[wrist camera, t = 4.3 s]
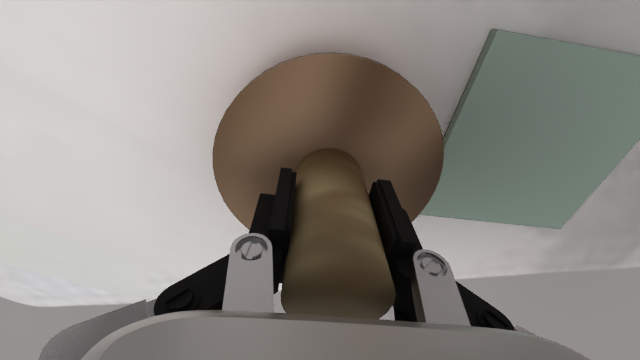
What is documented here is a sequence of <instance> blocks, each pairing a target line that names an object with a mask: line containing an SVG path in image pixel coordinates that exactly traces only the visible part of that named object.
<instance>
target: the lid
mask: <svg viewBox="0 0 640 360" xmlns="http://www.w3.org/2000/svg"><path fill="white" fill-rule="evenodd" d="M443 159H444V146H443V138H442V133H441V129H440V125H439V123H438V121H437V118H436V116H435V113H434V112H433V110H432V108H431V107H430V105H429V104H428V102H427V100H426V99H425V98H424V97H423V96H422V95H421V93H420V92H419V91H418V90H417V89H416V88H415V87H414V86H413V85H412V84H410V83H409V82H408V81H407V80H406V79H404V78H403V77H402V76H401V75H400V74H398V73H397V72H395V71H393V70H392V69H390V68H388V67H387V66H385V65H383V64H381V63H378V62H376V61H373V60H371V59H368V58H364V57H360V56H356V55H352V54H342V53H316V54H310V55H305V56H300V57H296V58H293V59H290V60H287V61H285V62H282V63H279V64H278V65H276V66H274V67H272V68H270V69H268V70H266V71H264V72H263V73H262V74H260V75H259V76H258V77H256V78H255V79H253V80H252V81H251V82H250V83H249V84H248V85H247V86H246V87H245V88H244V89H243V90H242V91H241V92H240V93H239V94H238V95H237V97H236V98H235V99H234V101H233V102H232V103H231V105H230V106H229V107H228V109H227V110H226V112H225V114H224V116H223V118H222V120H221V122H220V124H219V127H218V130H217V133H216V136H215V140H214V147H213V169H214V176H215V180H216V183H217V186H218V189H219V192H220V194H221V196H222V198H223V200H224V202H225V203H226V205H227V206H228V208H229V209H230V211H231V212H232V213H233V214H234V215H235V217H236V218H237V219H238V220H239V221H240V222H241V223H242V224H243V225H244V226H245V227H247V228H248V229H249V230H250V227H251V224H252V220H253V217H254V213H255V210H256V206H257V203H258V199H259V196H260V193H264V194H273V195H275V194H276V189H277V184H278V179H279V174H280V169H281V167H283V168H291V169H293V170H292V172H297V176H296V186H295V195H294V205H293V215H292V225H291V234H290V242H289V249H288V253H287V255H286V258H285V265H284V274H283V282H282V291H281V304H282V306H283V309H284V310H285V312H286V313H288V314H304V315H320V316H335V317H350V318H365V319H379V318H380V317H382V316H383V315H385V314H386V313H387V312H388V311H389V310H390V308H391V307H392V305H393V303H394V301H395V297H396V291H395V288H394V284H393V280H392V277H391V273H390V270H389V266H388V263H387V259H386V255H385V252H384V248H383V245H382V241H381V238H380V234H379V230H378V227H377V223H376V220H375V216H374V213H373V209H372V205H371V202H370V198H369V192H370V189H371V186H372V183H373V182H376V181H377V180H378V179H382V180H390V181H391V183H392V185H393V188H394V190H395V193H396V195H397V197H398V200H399V202H400V204H401V207H402V209H405V210H406V212H407V214H408V216H409V219H410V221H411V222H412V221H413V220H414V219H415V218H416V217H417V216H418V215H419V214H420V213H421V212H422V211H423V209H424V208H425V206H426V205H427V204H428V202H429V201H430V199H431V197H432V195H433V194H434V192H435V190H436V187H437V185H438V182H439V180H440V176H441V172H442V168H443Z"/></svg>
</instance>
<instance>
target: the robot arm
mask: <svg viewBox="0 0 640 360" xmlns="http://www.w3.org/2000/svg"><path fill="white" fill-rule="evenodd" d="M292 170H293V169H291V168H283V167H281V169H280V174H279V179H278V184H277V189H276V194H275V195H273V194H264V193H260V196H259V199H258V203H257V206H256V210H255V213H254V217H253V220H252V224H251V227H250V231H249V233H248V234H244V235H241V236H240V237H238V238H237V239H235V240H234V242H233V243H232V245H231V248H230V254H229V255H227V256H225V257H223V258H221V259H220V260H218V261H216V262H214V263H212V264H210V265H208V266H207V267H205V268H203V269H201V270H199V271H197V272H195V273H194V274H192V275H190V276H188V277H186V278H184V279H183V280H181V281H179V282H177V283H175V284H173V285H171V286H170V287H168V288H167V289H165V290H164V291H163V292H162V293H161V294H160V295H159V296H158V298H157V299H155V300H152V301H149V302H146V299H145V300H143V301H140V302H137V303H134V304H131V305H128V306H126V307H123V308H120V309H118V310H115V311H112V312H109V313H106V314H103V315H100V316H98V317H95V318H92V319H89V320H86V321H83V322H81V323H78V324H75V325H72V326H70V327H68V328H66V329H64V330H62V331H61V332H59V333H58V334H56V335H55V336H54V337H53V338H51V339H50V340H49V342H48V343H47V344H46V345H45V346H44V348H43V350H42V352H41V354H40V357H39V360H590V359H589V358H587V357H585V356H584V355H582V354H580V353H578V352H576V351H575V350H573V349H571V348H568V347H566V346H564V345H561V344H559V343H557V342H554V341H551V340H548V339H545V338H542V337H539V336H537V335H535V334H533V333H531V332H529V331H527V330H525V329H523V328H522V327H520V326H518V325H517V326H515V327H513V325H512V324H511V322H510V321H509V320H508V318H507V317H506V316H505V315H503V314H502V313H501V312H500V311H499V310H497V309H496V308H494V307H493V306H491V305H490V304H489V303H487V302H485V301H484V300H482V299H481V298H480V297H478V296H477V295H475V294H474V293H473V292H471V291H470V290H468V289H467V288H465V287H464V286H462V285H461V284H459V283H458V282H456V281H455V279H454V276H453V273H452V270H451V267H450V265H449V263H448V262H447V261H446V260H445V259H444V258H443V257H442V256H441V255H439V254H437V253H435V252H433V251H430V250H424V249H423V248H422V246H421V244H420V241H419V239H418V237H417V235H416V232H415V230H414V228H413V225H412V223H411V221H410V219H409V216H408V214H407V212H406V210H405V209H402V207H401V204H400V202H399V200H398V197H397V195H396V193H395V190H394V188H393V185H392V183H391V181H390V180H382V179H378V180H377V181H376V182H373V183H372V186H371V189H370V192H369V198H370V202H371V205H372V209H373V213H374V216H375V220H376V223H377V227H378V230H379V234H380V238H381V241H382V245H383V248H384V252H385V255H386V259H387V263H388V266H389V270H390V273H391V277H392V280H393V284H394V288H395V291H396V297H395V301H394V303H393V305H392V307H391V308H390V310H389V317H390V320H379V319H365V318H350V317H335V316H320V315H304V314H288V313H274V294H275V293H276V292H278V286H279V283H282V282H283V274H284V265H285V258H286V255H287V253H288V249H289V242H290V234H291V225H292V215H293V205H294V195H295V186H296V176H297V172H292Z"/></svg>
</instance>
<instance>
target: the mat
mask: <svg viewBox="0 0 640 360" xmlns="http://www.w3.org/2000/svg"><path fill="white" fill-rule="evenodd" d="M639 139H640V56H638V55H632V54H627V53H622V52H616V51H611V50H605V49H600V48H595V47H589V46H584V45H579V44H573V43H568V42H563V41H557V40H552V39H547V38H541V37H536V36H530V35H525V34H520V33H514V32H509V31H504V30H498V29H492V30H491V32H490V35H489V37H488V39H487V41H486V44H485V46H484V48H483V51H482V53H481V55H480V57H479V60H478V62H477V64H476V66H475V69H474V71H473V73H472V75H471V78H470V80H469V82H468V84H467V87H466V89H465V91H464V93H463V96H462V98H461V100H460V102H459V105H458V107H457V109H456V111H455V114H454V116H453V118H452V120H451V123H450V125H449V127H448V129H447V132H446V134H445V136H444V139H443V146H444V159H443V168H442V172H441V176H440V180H439V182H438V185H437V187H436V190H435V192H434V194H433V195H432V197H431V199H430V201H429V202H428V204H427V205H426V206H425V208H424V209H423V211H422V212H421V213H420V214H419V215H429V216H438V217H448V218H457V219H467V220H477V221H486V222H496V223H505V224H515V225H524V226H534V227H543V228H553V229H561V228H562V227H563V225H564V224H565V223H566V222H567V221H568V220H569V219H570V218H571V216H572V215H573V214H574V213H575V212H576V211H577V210H578V208H579V207H580V206H581V205H582V204H583V203H584V202H585V201H586V199H587V198H588V197H589V196H590V195H591V194H592V193H593V192H594V190H595V189H596V188H597V187H598V186H599V185H600V184H601V182H602V181H603V180H604V179H605V178H606V177H607V176H608V175H609V173H610V172H611V171H612V170H613V169H614V168H615V167H616V166H617V164H618V163H619V162H620V161H621V160H622V159H623V158H624V156H625V155H626V154H627V153H628V152H629V151H630V150H631V149H632V147H633V146H634V145H635V144H636V143H637V142H638V141H639Z"/></svg>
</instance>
